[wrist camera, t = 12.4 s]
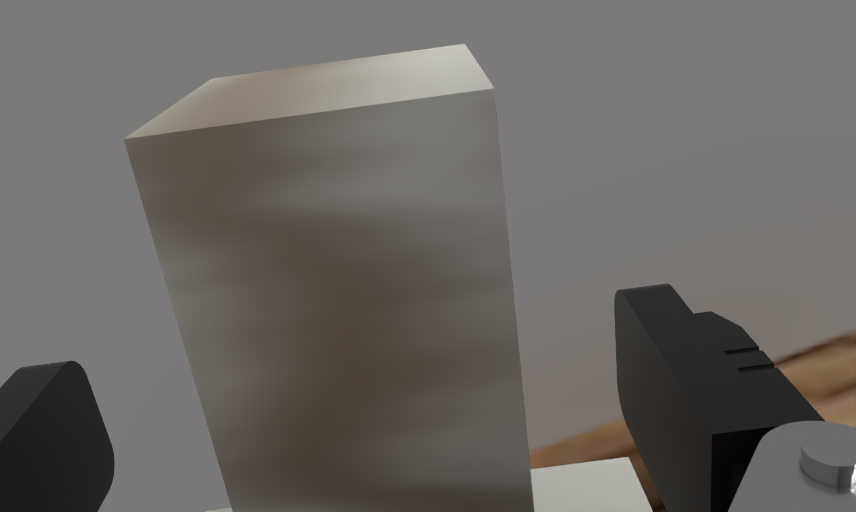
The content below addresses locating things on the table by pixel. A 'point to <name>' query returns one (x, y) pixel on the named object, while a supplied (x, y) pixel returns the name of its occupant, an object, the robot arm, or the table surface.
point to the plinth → (584, 488)
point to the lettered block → (345, 283)
